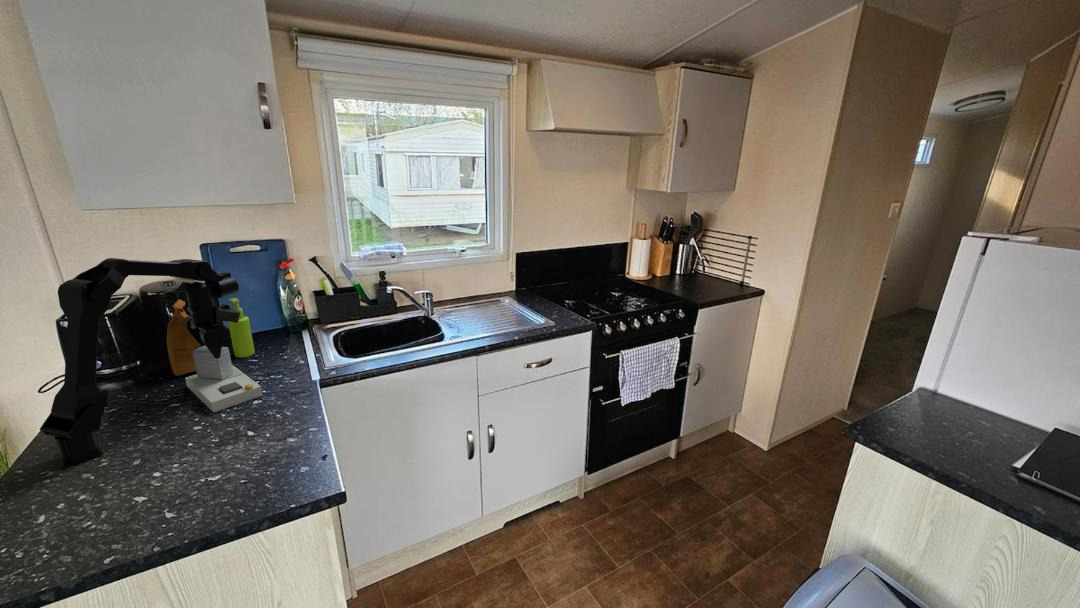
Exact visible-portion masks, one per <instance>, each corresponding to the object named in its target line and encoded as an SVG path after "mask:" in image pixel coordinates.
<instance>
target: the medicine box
mask: <svg viewBox="0 0 1080 608" xmlns="http://www.w3.org/2000/svg"><path fill="white" fill-rule="evenodd" d="M193 357H194V362H195V366H196V371H195V372H196V374H197V375H198V378H213V379H224V378H226V377H228V376H229V375H231V374H232V373H233V368H232V365H233V363H232V360H231V354H230V349H229V347H227V346H222V349H221V355H220V358H218V359H215V357H214V356H213V355H212V354H211V352H210V351H209V350H208V348H207V347H206V346H203V347H200V348H198V349H196V350H194V351H193Z"/></svg>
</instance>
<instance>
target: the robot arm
mask: <svg viewBox="0 0 1080 608" xmlns="http://www.w3.org/2000/svg"><path fill="white" fill-rule="evenodd" d="M129 276H139V277H141V276H147V277H149V276H150V277H152V276H153V277H154V276H155V277H171V278H175V279H180V280H187V281H194V282H186V281H182V282H181V284H180V285H179V286H178V287H176V289H175V290H176V291H177V292H181V293H185V294H186V295H185V296H186V300H187V305H188V306H187V307H186V309H187V312H188V313H189V314H190V315H188V316H187V317H185V319H184V320H183V323H184V326H185V327H186V329H187V330H188V331H189V332H190V334H191V335H192V336H193V337H194V338H195V340H196V341H197V342H198V343H199V344H200V345H201V347H203V346H206V347H207V348H208V350H209V351H210V352H211V354H212V355H213V356H214V357H215V359H218V358H220V355H221V349H222V347H223V342H225V340H226V339H228V338H230V337H231V333H230V329H229V327H227V326H225V325H224V324H222V323H223V322H228V321H229V322H234V323H238V321H239V317H240V312H239V311H237V310H234V309H232V308H231V306H230V305H229V304H225V303H222V304H221V305H220V306H219V307H218V305H215V302H214V299H216V300H217V299H222V298H224V297H228V296H231V295H235V294H237V293H238V292H239V288H240V285H239V283H238V282H237V280H236V279H235V278H234V277H233V276H232V274H231V273H230V272H225V271H224V272H221V273H217V272H216V271H215V270H214V269H213V268H212V266H211V265H210V263H209V262H208V261H206V260H203V259H202V260H201V259H200V260H199V259H189V258H185V259H184V258H183V259H182V258H181V259H174V260H169V261H157V260H156V261H155V260H153V261H151V260H138V259H137V260H135V259H134V260H133V259H126V258H115V257H108V258H106V259H103V260H101V262H99V263H98V264H96V265H95V266H93V267H91V268H89V269H87V270H85V271H83V272H80V273H79V274H77V275H76V276H75V277H73V278H72V279H68V280H66V281H64V282H63V283H61V284H60V285H59V286H58V289H57V297H58V302H59V306H60V309H61V311H62V313H63V314H64V316H65V318H66V320H67V327H66V328H67V330H66V332H67V333H66V344H65V345H66V346H65V347H66V348H65V361H64V363H65V364H64V365H65V366H64V381H63V385H62V386H61V388H60V389H59V390H58V391H57V393H56V394H55V395H54V397H53V402H52V406H51V409H50V413H49V415H47V417H46V419H45V420H44V422H43V423H42V425H41V426H40V427H39V431H40V432H41V433H43V434H44V435H45V436H53V437H54V441H55V444H56V446H57V449H58V451H59V452H58V453H59V454H57V458H58V461H59V463H60V466H61V468H62V469H64V468H65V469H66V468H68V467H69V468H70V467H72V466H74V465H76V464H79V463H82V462H86V461H88V460H92V459H94V458H96V457H100V456H102V455H104V451H103V450H102V448H101V446H100V443H99V442H98V441H96V438H95V434H94V433H95V432H97V431H99V430H100V429H101V422H102V417H103V415H104V414H105V411H106V408H109V405H108V396H109V390H108V389H104V388H99V386H98V384H97V367H98V365H97V364H98V352H99V351H98V349H99V347H98V346H99V332H100V331H99V329H100V320H101V319H102V318H103V316H104V315H105V314H106V313H107V311H108V310H109V308H110V303H111V300H112V296H113V295H114V294H115V293H117V291H119V290H120V289H121V288H122V286H123V285H124V282H125V280H126V278H128V277H129Z"/></svg>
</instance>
